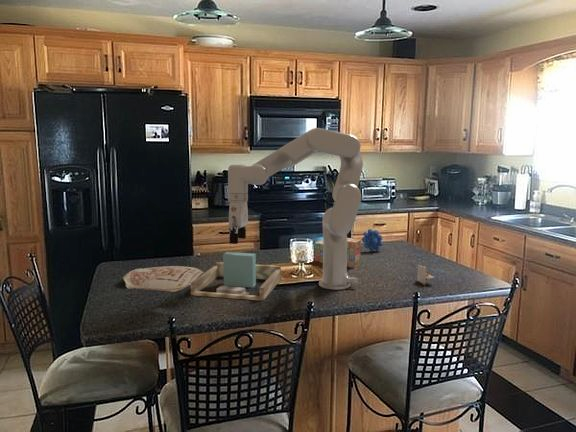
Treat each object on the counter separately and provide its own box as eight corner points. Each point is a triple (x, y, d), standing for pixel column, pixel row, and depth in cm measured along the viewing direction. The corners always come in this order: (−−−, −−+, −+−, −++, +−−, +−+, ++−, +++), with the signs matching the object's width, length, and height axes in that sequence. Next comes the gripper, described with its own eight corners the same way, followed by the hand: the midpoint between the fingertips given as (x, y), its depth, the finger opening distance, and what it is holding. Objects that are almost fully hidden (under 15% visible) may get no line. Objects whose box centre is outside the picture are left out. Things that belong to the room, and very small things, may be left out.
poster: (116, 296, 194) (186, 298, 188) (113, 281, 193) (184, 283, 187) (148, 271, 221) (211, 273, 215) (147, 258, 219) (210, 259, 213)
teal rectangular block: (255, 287, 193) (255, 253, 191) (253, 291, 190) (252, 256, 187) (227, 285, 196) (226, 252, 194) (223, 288, 192) (223, 254, 190)
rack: (281, 282, 200) (281, 265, 199) (263, 304, 175) (263, 285, 174) (216, 277, 207) (216, 261, 205) (190, 298, 181) (190, 280, 180)
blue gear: (364, 254, 247) (365, 230, 245) (359, 251, 253) (360, 228, 251) (385, 252, 250) (386, 229, 248) (380, 249, 256) (381, 227, 254)
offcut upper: (245, 292, 183) (245, 287, 182) (241, 296, 179) (241, 291, 179) (221, 290, 186) (221, 285, 185) (216, 293, 182) (216, 288, 182)
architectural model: (424, 280, 204) (424, 263, 203) (433, 285, 197) (434, 268, 196) (416, 281, 203) (417, 264, 202) (426, 286, 196) (427, 268, 195)
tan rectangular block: (313, 261, 233) (314, 236, 231) (320, 258, 238) (320, 234, 236) (355, 268, 222) (355, 241, 220) (360, 265, 227) (361, 239, 225)
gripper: (240, 200, 177) (240, 246, 180) (253, 195, 194) (253, 237, 197) (220, 199, 179) (220, 245, 182) (235, 194, 196) (235, 235, 199)
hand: (237, 240), depth 189 cm, fingers open, 9 cm apart
